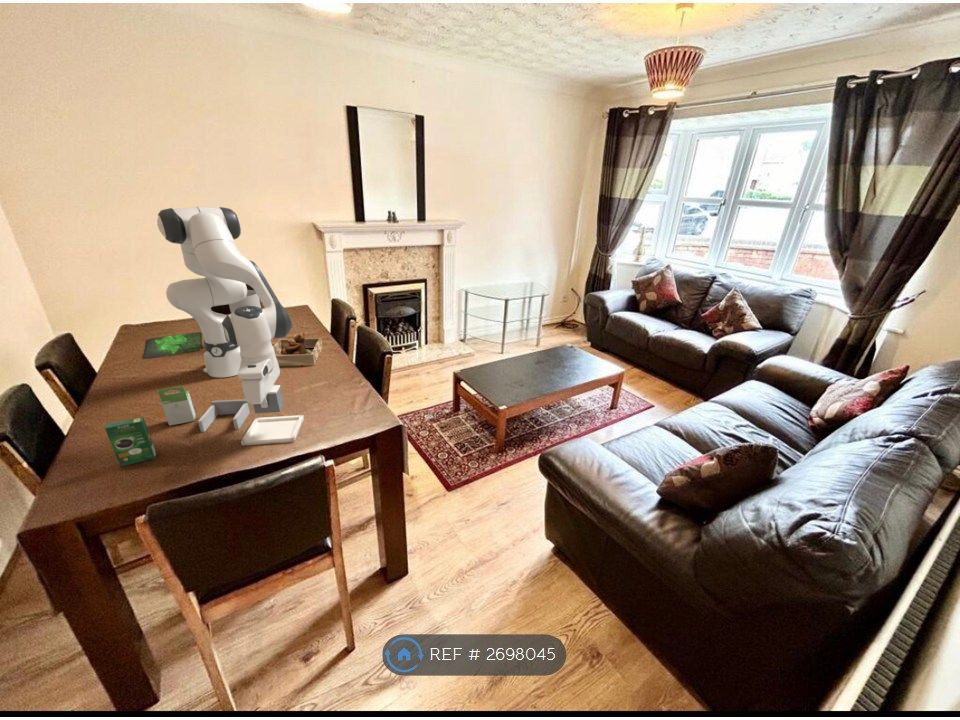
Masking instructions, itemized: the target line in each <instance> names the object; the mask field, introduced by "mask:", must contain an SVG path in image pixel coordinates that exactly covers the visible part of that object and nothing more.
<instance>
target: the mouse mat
mask: <svg viewBox="0 0 960 720" xmlns="http://www.w3.org/2000/svg"><path fill="white" fill-rule="evenodd" d="M202 338H203V335H202V331H197V332H189V333H187V332H186V333H181V334H175V335H173V334H172V335H166V336H160V337H153V338H148V339H146V343H145V348H144V351H143V355H142V359H143V360H152V359H155V358H164V357H170V356H175V355H182V354H189V353H190V354H191V353H195V352H200V351H201V350H200V349H202V350H203V339H202Z"/></svg>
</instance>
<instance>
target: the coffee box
mask: <svg viewBox="0 0 960 720" xmlns="http://www.w3.org/2000/svg"><path fill="white" fill-rule="evenodd" d="M104 429H105V432H106V435H107V437H108V440H109V443H110V445H111V447H112V451H113V452H114V455H115V457H116V460H117V462H118V464H119V466H120V467H125V466H131V465H135V464H137V463H143V462H146V461H151V460H155V459H156V457H157V452H156V449H155V446H154V443H153V440H152V438H151V435H150V431H149V429H148V425H147V423H146V420H145V417H144V416H139V417H134V418H130V419H124V420H117V421H111V422H107V423H106V425H105V427H104Z"/></svg>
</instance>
